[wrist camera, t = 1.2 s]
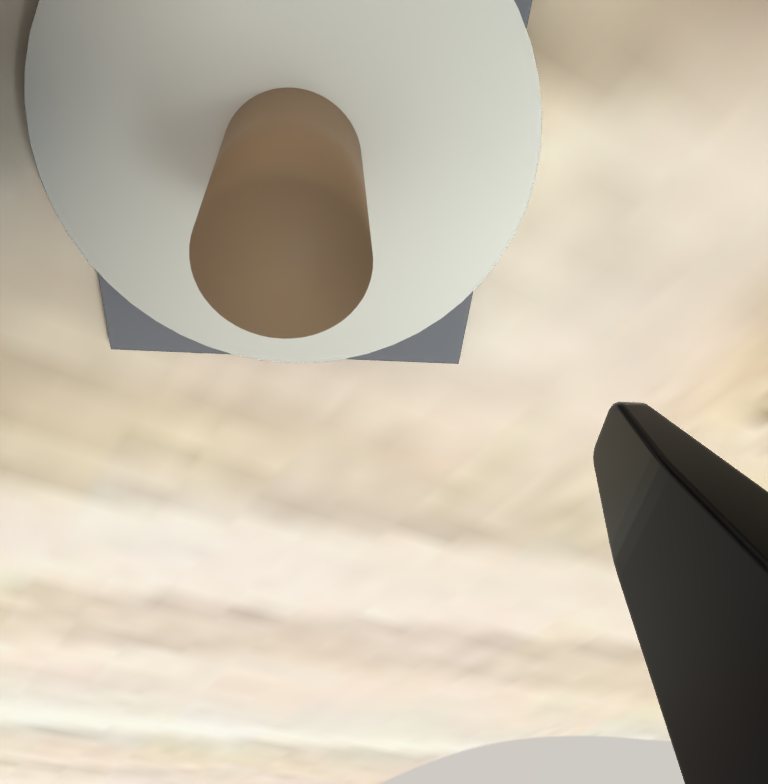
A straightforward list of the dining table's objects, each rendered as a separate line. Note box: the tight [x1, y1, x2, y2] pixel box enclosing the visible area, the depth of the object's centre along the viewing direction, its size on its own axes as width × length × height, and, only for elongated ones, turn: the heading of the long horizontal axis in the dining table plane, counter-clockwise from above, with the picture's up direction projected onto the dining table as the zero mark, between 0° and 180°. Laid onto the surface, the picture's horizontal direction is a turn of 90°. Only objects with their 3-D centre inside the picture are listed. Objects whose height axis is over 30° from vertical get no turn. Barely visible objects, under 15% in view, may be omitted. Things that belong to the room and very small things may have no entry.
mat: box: [98, 0, 532, 364], centre depth 17 cm, size 10×12×1 cm
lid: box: [25, 0, 542, 363], centre depth 15 cm, size 12×12×6 cm
